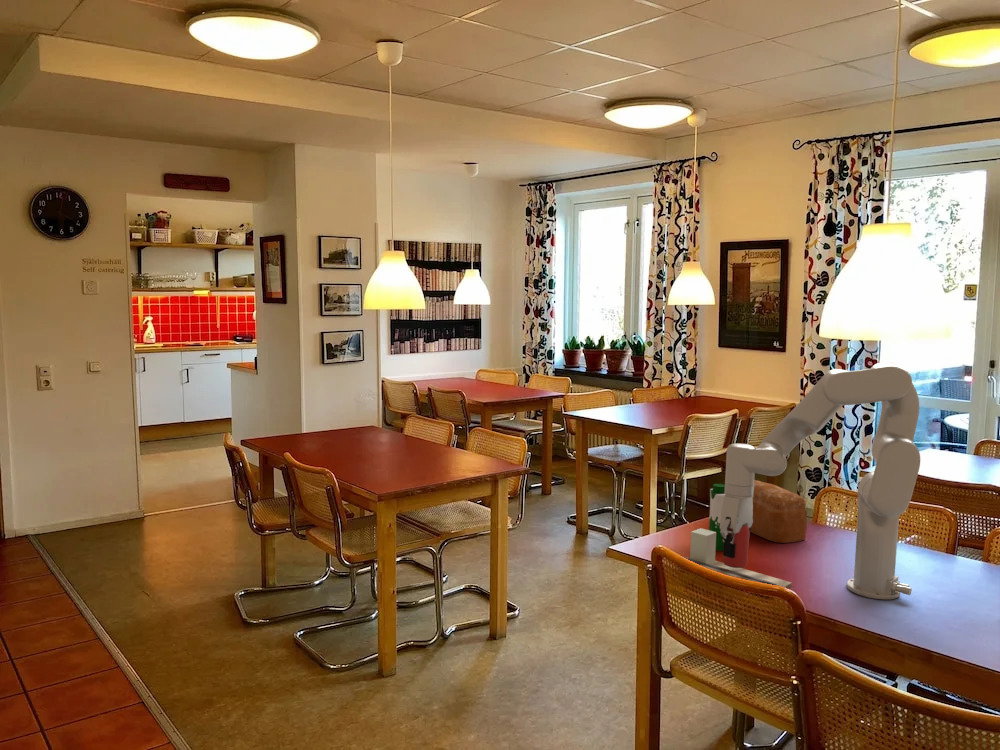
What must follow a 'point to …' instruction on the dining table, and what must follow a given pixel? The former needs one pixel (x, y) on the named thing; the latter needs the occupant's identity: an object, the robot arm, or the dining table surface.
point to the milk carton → (716, 513)
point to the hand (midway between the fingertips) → (735, 553)
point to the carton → (703, 546)
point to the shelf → (743, 573)
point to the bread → (778, 514)
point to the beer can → (739, 549)
